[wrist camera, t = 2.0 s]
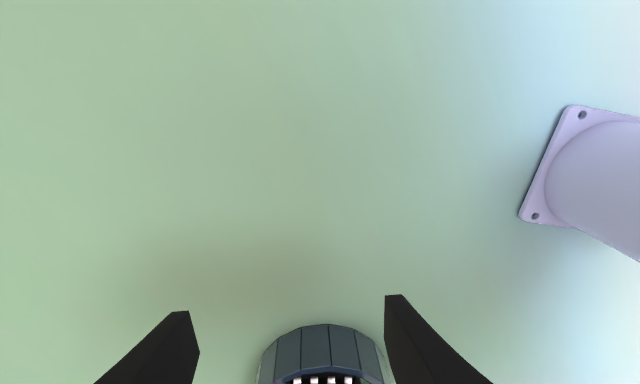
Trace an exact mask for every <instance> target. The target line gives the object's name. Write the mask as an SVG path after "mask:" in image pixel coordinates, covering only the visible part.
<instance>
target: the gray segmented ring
mask: <svg viewBox="0 0 640 384" xmlns="http://www.w3.org/2000/svg"><path fill="white" fill-rule="evenodd" d="M330 371H331V372H337V373H343V374H349V375H355V376H359V377H360V378H362V379H364V380H366V381H367V382H369V383H371V384H391V381H390V377H389V374H388V370H387V367H386V363H385V360H384V357H383V355H382V354H381V352H380V350H379V349H378V347H377V346H376V344H375V343H374V342H373V341H372V340H371V339H369V338H368V337H366V336H364V335H363V334H361V333H359V332H358V331H356V330H353V329H351V328H346V327H341V326H336V325H331V324H329V325H327V324H324V325H316V326H308V327H302V329H301V328H299V329H297V330H294V331H292V332H290V333H288V334H286V335H284V336H282V337H280V338H279V339H277V340H276V341H275V342H274V343H273V344H272V345H271V346H270V347H269V348H268V349H267V350H266V352H265V353H264V354H263V355H262V358H261V362H260V365H259V369H258V372H257V378H256V384H283V383H286V382H288V381H290V380H292V379H295V378H297V377H299V376H301V375H306V374H314V373H322V372H330Z"/></svg>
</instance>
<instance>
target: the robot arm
mask: <svg viewBox="0 0 640 384" xmlns="http://www.w3.org/2000/svg"><path fill="white" fill-rule="evenodd" d="M580 112H581V115H580V117H579V118H578V114H579V113H580ZM534 213H535V215H534V216H533V217H532V215H533V214H534ZM518 215H519V218H520V219H522V220H523V221H526V222H533V223H539V224H546V225H553V226H559V227H566V228H572V229H579V230H581V231H583V232H585V233H587V234H589V235H591V236H592V237H594V238H596V239H598V240H600V241H602V242H603V243H605V244H607V245H609V246H611V247H612V248H614V249H616V250H618V251H620V252H622V253H623V254H625V255H627V256H629V257H631V258H633V259H634V260H636V261H638V262H640V117H635V116H630V115H625V114H620V113H615V112H610V111H605V110H600V109H595V108H589V107H584V106H579V105H570V106H568V107H567V108H565V110H564V111H563V114H562V116H561V118H560V120H559V123H558V125H557V127H556V129H555V132H554V134H553V136H552V139H551V141H550V143H549V145H548V148H547V150H546V152H545V154H544V157H543V159H542V161H541V163H540V166H539V168H538V170H537V173H536V175H535V177H534V179H533V182H532V184H531V186H530V188H529V191H528V193H527V195H526V197H525V200H524V202H523V204H522V206H521V209H520V211H519V214H518ZM384 341H385V345H386V349H387V354H388V358H389V362H390V366H391V369H392V372H393V375H394V378H395V381H396V384H493V383H492V382H491V381H489V380H488V379H487V378H486V377H484V376H483V375H482V374H481V373H480V372H478V371H477V370H476V369H475V368H474V367H473V366H471V365H470V364H469V363H468V362H467V361H466V360H465V359H464V358H463V357H461V356H460V355H459V354H458V353H457V352H456V351H455V350H454V349H453V348H452V347H451V346H450V345H449V344H448V343H447V342H446V341H445V340H444V339H443V338H442V337H441V336H440V335H439V334H438V333H437V332H436V331H435V330H434V329H433V328H432V327H431V326H430V325H429V324H428V323H427V322H426V321H425V320H424V319H423V318H422V317H421V315H420V314H419V313H418V312H417V311H416V310H415V309H414V308H413V307H412V305H411V304H410V303H409V302H408V301H407V300H406V298H405V297H404V296H403V295H401V294H399V295H386V296H385V311H384ZM199 355H200V351H199V347H198V344H197V340H196V336H195V332H194V329H193V325H192V321H191V317H190V314H189V311H178V312H171V313H170V314H169V315H168V316H167V317H166V318H165V319H164V320H163V321H161V322H160V323H159V324H158V325H157V326H156V327H155V328H154V329H153V330H152V331H151V332H150V333H149V334H148V335H147V336H146V337H145V338H144V339H143V340H142V341H140V342H139V343H138V344H137V345H136V346H135V347H134V348H133V349H132V350H131V351H130V352H129V353H128V354H127V355H125V356H124V357H123V358H122V359H121V360H120V361H119V362H118V363H117V364H116V365H114V366H113V367H112V368H111V369H110V370H109V371H108V372H106V373H105V374H104V375H103V376H102V377H101V378H100V379H98V380H97V381H96V382H95V383H94V384H192V381H193V378H194V374H195V370H196V367H197V363H198V359H199Z"/></svg>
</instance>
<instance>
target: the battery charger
mask: <svg viewBox="0 0 640 384" xmlns="http://www.w3.org/2000/svg"><path fill="white" fill-rule="evenodd" d="M284 384H360V378H359V376H355V375H349V374H343V373H337V372H331V371H330V372H322V373H314V374H306V375H301V376H299V377H297V378H295V379H292V380H290V381H288V382H286V383H284Z"/></svg>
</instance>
